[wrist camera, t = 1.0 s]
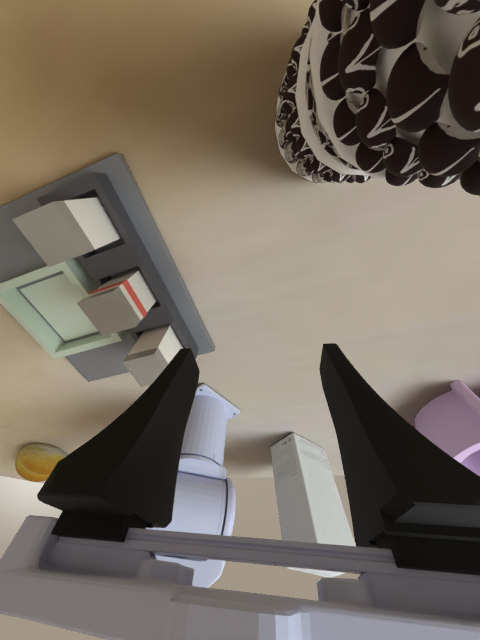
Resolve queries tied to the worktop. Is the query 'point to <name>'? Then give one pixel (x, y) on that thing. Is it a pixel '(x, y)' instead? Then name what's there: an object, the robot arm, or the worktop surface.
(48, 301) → the panel
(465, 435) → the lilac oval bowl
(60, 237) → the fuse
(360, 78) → the striped tower model
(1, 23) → the worktop surface
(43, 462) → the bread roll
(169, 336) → the block
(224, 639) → the robot arm
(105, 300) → the block
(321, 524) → the skincare box
